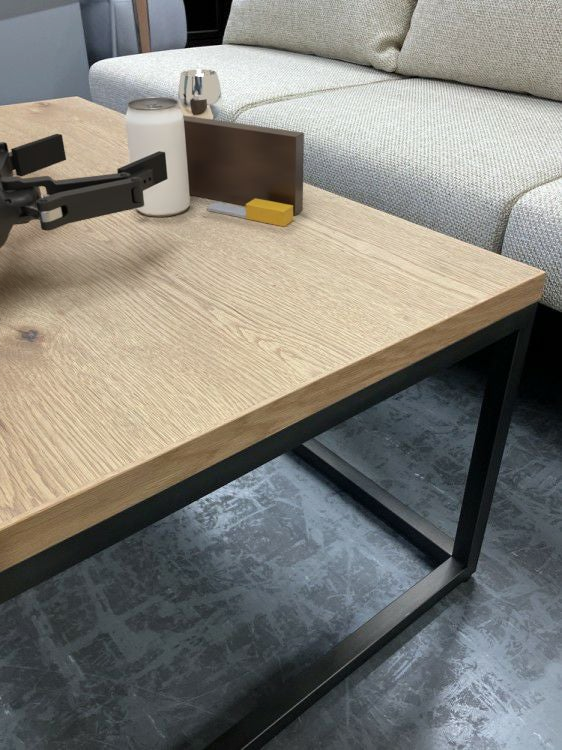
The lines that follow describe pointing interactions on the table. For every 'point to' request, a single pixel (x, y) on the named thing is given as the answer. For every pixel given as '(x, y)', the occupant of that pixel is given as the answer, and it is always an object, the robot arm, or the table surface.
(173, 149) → the can
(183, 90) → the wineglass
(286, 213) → the knife
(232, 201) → the backboard
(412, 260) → the table surface
